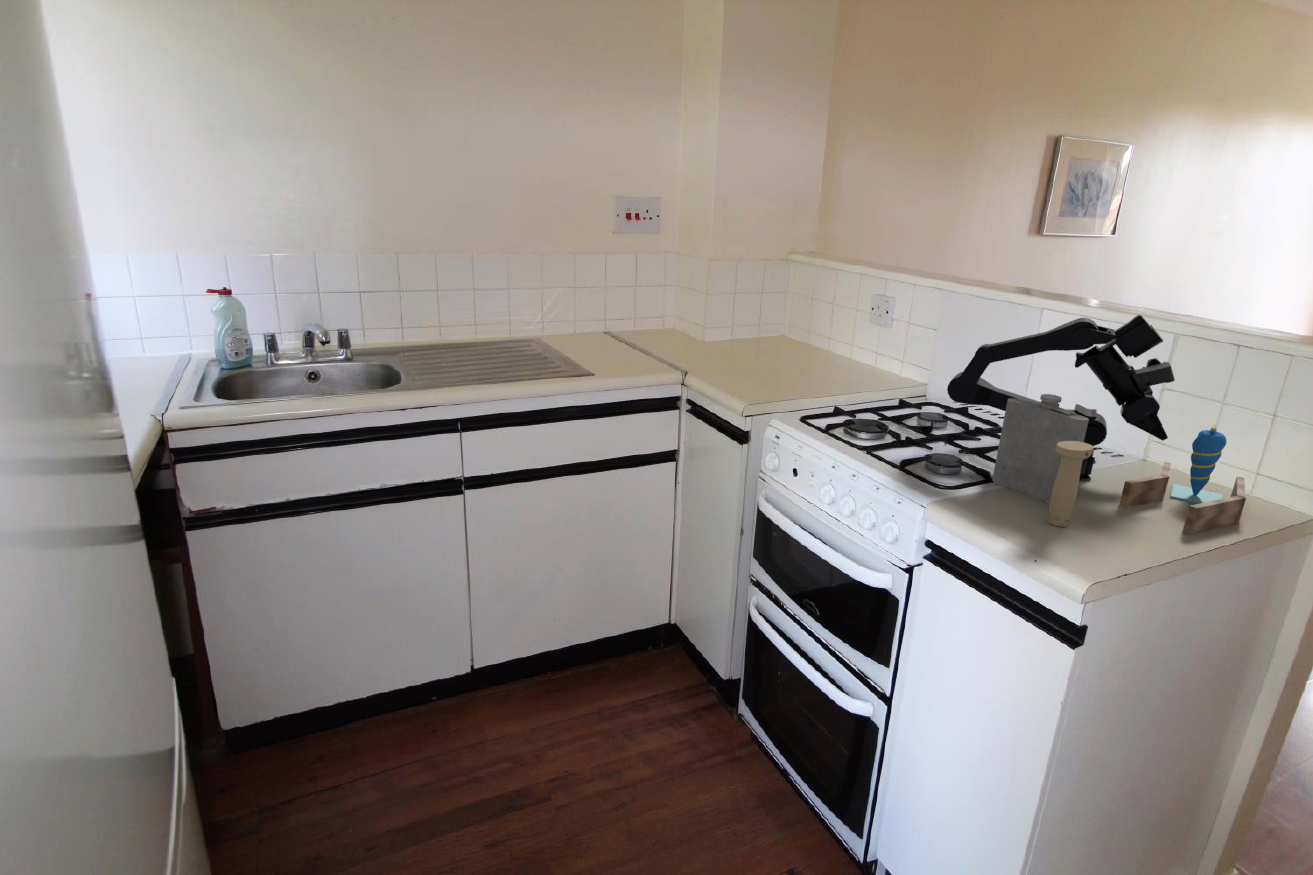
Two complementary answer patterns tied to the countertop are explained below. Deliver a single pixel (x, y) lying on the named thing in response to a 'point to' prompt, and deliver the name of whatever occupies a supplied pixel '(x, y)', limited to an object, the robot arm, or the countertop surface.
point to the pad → (1187, 495)
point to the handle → (1067, 480)
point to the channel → (1198, 514)
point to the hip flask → (1035, 444)
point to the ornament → (1205, 457)
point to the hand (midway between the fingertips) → (1162, 433)
